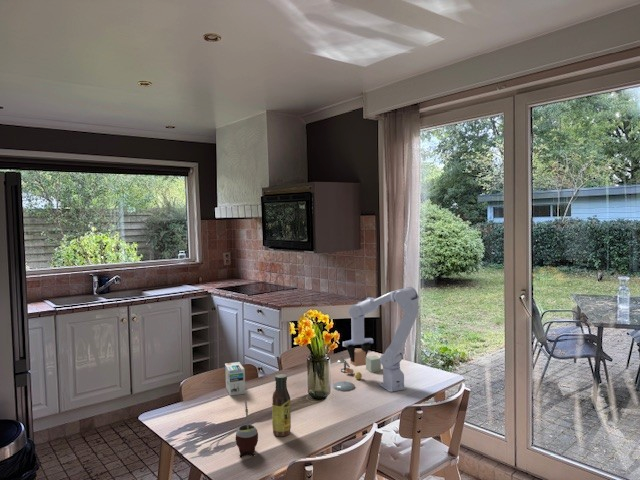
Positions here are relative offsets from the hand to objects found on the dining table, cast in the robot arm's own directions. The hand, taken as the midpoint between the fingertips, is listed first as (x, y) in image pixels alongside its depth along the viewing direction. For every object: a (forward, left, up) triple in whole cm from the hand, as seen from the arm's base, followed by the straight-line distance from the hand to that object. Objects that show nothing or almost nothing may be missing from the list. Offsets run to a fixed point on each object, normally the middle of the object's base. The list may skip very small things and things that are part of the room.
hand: (358, 360), depth 210 cm
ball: (0, 0, -9) cm, 9 cm away
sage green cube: (+8, -12, -9) cm, 17 cm away
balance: (+12, +1, -9) cm, 15 cm away
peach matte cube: (0, 0, -2) cm, 2 cm away
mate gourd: (-44, +61, -9) cm, 76 cm away
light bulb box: (+9, +54, -9) cm, 55 cm away
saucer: (-6, +10, -9) cm, 14 cm away
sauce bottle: (-36, +47, -9) cm, 60 cm away
